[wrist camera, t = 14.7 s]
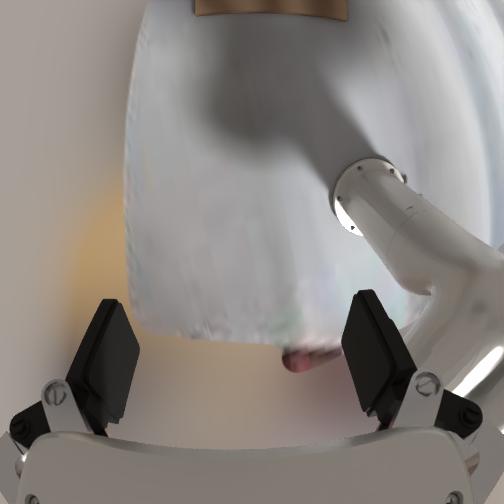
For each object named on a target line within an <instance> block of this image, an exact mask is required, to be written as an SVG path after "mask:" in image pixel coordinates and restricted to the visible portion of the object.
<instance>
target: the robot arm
mask: <svg viewBox="0 0 504 504" xmlns="http://www.w3.org/2000/svg"><path fill="white" fill-rule="evenodd" d="M358 166H359V168H358ZM357 168H358V169H357ZM337 197H339V198H337ZM333 207H334V211H335V214H336V216H337V218H338V220H339V221H340V223H341V224H342V225H343V226H344V227H345V228H346V229H347V230H348V231H350V232H352V233H355V234H358V235H363V236H364V238H365V239H366V240H367V242H368V243H369V244H370V246H371V247H372V248H373V250H374V251H375V252H376V254H377V255H378V256H379V258H380V259H381V261H382V262H383V263H384V265H385V266H386V268H387V269H388V270H389V272H390V273H391V275H392V276H393V277H394V279H395V280H396V282H397V283H398V284H399V285H400V286H401V287H402V288H403V289H405V290H407V291H408V292H410V293H413V294H417V295H425V296H431V297H430V300H429V302H428V304H427V305H426V307H425V308H424V310H423V311H422V313H421V315H420V317H419V318H418V319H417V321H416V322H415V323H414V325H413V326H412V328H411V329H410V330H409V331H408V333H407V334H406V335H405V336H404V338H403V339H402V337H401V335H400V333H399V331H398V329H397V327H396V325H395V324H394V322H393V321H392V320H391V319H389V317H388V315H387V313H386V311H385V310H384V308H383V306H382V304H381V302H380V301H379V299H378V297H377V295H376V294H375V292H374V290H372V289H368V290H359V291H358V293H357V294H355V295H354V296H353V300H352V304H351V307H350V311H349V315H348V318H347V322H346V325H345V329H344V332H343V335H342V339H341V344H342V348H343V351H344V354H345V357H346V360H347V363H348V366H349V369H350V372H351V375H352V379H353V382H354V385H355V388H356V392H357V395H358V398H359V401H360V405H361V408H362V410H363V412H366V413H367V416H368V417H373V416H377V417H378V420H379V421H380V422H379V425H378V426H377V428H376V430H375V432H373V433H369V434H364V435H360V436H355V437H350V438H344V439H339V440H333V441H328V442H322V443H315V444H308V445H300V446H292V447H281V448H268V449H248V450H211V449H190V448H177V447H167V446H158V445H150V444H143V443H137V442H131V441H125V440H119V439H114V438H112V437H111V435H110V433H109V431H108V430H107V424H108V422H110V423H115V424H118V423H119V419H120V418H122V417H123V415H124V411H125V406H126V402H127V398H128V394H129V390H130V386H131V382H132V378H133V375H134V371H135V367H136V364H137V360H138V356H139V353H140V347H139V344H138V342H137V339H136V337H135V335H134V333H133V330H132V328H131V325H130V323H129V321H128V318H127V316H126V313H125V311H124V309H123V306H122V304H121V303H119V302H118V301H117V299H103V300H102V301H101V303H100V305H99V307H98V309H97V311H96V313H95V315H94V317H93V319H92V321H91V323H90V325H89V327H88V329H87V332H86V334H85V336H84V338H83V340H82V342H81V344H80V346H79V349H78V351H77V353H76V356H75V358H74V360H73V362H72V365H71V367H70V369H69V372H68V374H67V377H66V379H65V380H62V379H54V380H51V381H50V382H48V383H47V384H46V385H45V386H44V388H43V390H42V394H41V399H42V400H41V401H39V402H37V403H36V404H34V405H32V406H30V407H29V408H27V409H25V410H23V411H22V412H20V413H18V414H17V415H15V416H14V417H13V419H12V420H11V423H10V428H9V429H10V433H8V432H7V431H6V433H5V434H4V435H3V436H2V437H1V438H0V491H1V493H2V494H3V496H4V497H5V499H6V500H7V502H8V503H9V504H484V502H485V501H486V499H487V498H488V496H489V495H490V493H491V491H492V490H493V488H494V487H495V485H496V483H497V482H498V480H499V478H500V477H501V475H502V473H503V471H504V255H503V254H502V253H500V252H498V251H497V250H495V249H494V248H492V247H490V246H489V245H487V244H486V243H484V242H482V241H481V240H480V239H478V238H477V237H475V236H474V235H472V234H471V233H469V232H468V231H467V230H465V229H464V228H463V227H461V226H460V225H459V224H457V223H456V222H455V221H454V220H452V219H451V218H450V217H448V216H447V215H446V214H445V213H443V212H442V211H441V210H439V209H438V208H437V207H435V206H434V205H433V204H431V203H430V202H429V201H427V200H426V199H424V198H423V197H422V194H417V193H416V192H415V191H413V190H412V189H410V188H409V187H407V186H406V185H405V183H404V180H403V178H402V176H401V174H400V172H399V171H398V170H397V169H396V168H395V167H394V166H393V165H391V164H390V163H388V162H386V161H384V160H380V159H374V158H370V159H363V160H361V161H358V162H356V163H354V164H352V165H351V166H350V167H349V168H347V169H346V170H345V171H344V172H343V174H342V175H341V176H340V178H339V180H338V181H337V183H336V186H335V189H334V194H333ZM351 225H352V226H351Z"/></svg>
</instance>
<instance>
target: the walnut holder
mask: <svg viewBox="0 0 504 504" xmlns="http://www.w3.org/2000/svg"><path fill="white" fill-rule="evenodd" d="M232 13H277V14H293V15H305V16H314V17H321V18H328V19H335V20H341V21H347V20H348V13H347V0H195V15H196V16H204V15H216V14H232Z"/></svg>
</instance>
